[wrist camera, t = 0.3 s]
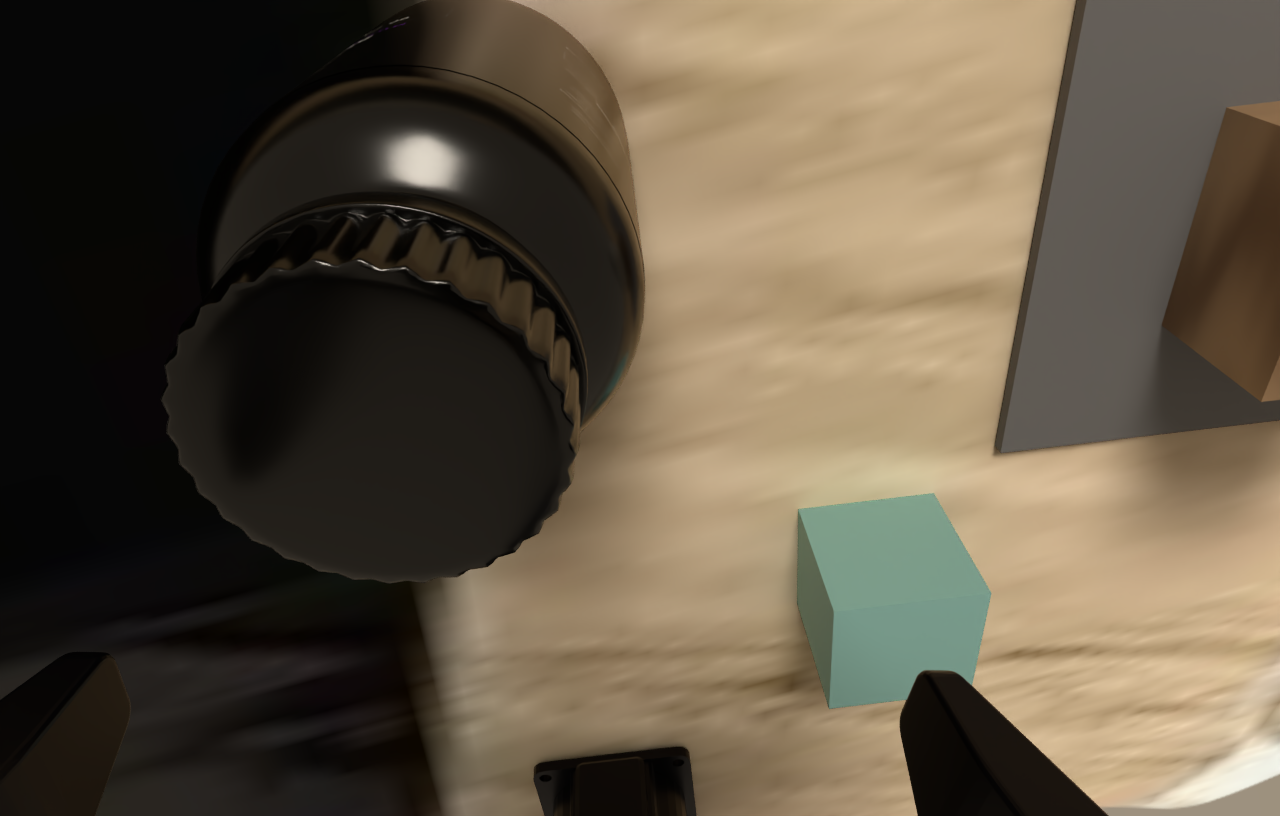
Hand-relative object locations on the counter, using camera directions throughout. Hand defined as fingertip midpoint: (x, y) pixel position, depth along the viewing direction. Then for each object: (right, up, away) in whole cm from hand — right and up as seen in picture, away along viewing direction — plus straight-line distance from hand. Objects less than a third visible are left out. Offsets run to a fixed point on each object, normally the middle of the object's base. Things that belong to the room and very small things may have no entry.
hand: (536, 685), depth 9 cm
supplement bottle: (-3, +10, +10) cm, 14 cm away
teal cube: (+9, -2, +19) cm, 21 cm away
